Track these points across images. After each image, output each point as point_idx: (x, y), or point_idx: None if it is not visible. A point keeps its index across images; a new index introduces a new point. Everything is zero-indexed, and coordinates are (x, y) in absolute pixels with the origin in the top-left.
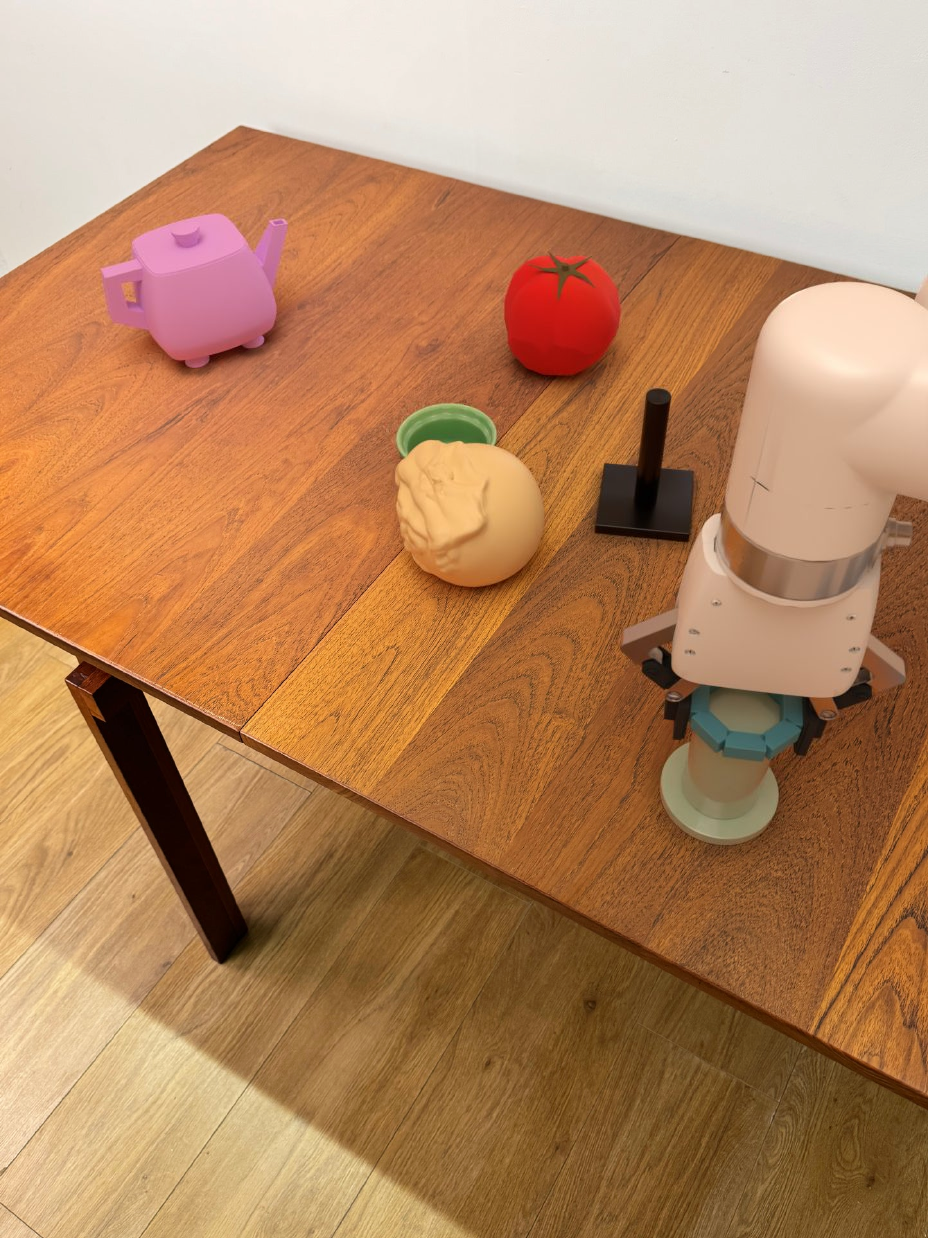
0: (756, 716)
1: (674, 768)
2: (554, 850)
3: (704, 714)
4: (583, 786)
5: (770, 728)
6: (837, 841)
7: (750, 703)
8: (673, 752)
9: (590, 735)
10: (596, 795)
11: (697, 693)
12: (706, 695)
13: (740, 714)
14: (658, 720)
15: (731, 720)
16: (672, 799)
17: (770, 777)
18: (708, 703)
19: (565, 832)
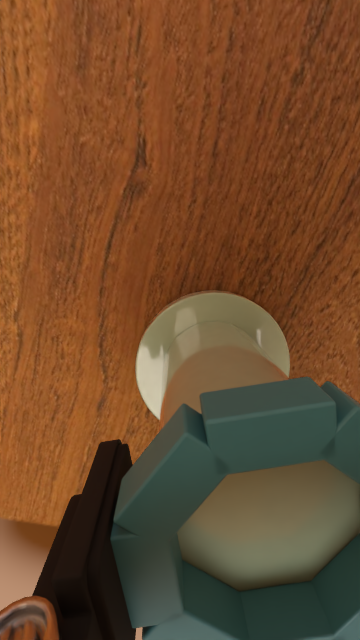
0: (301, 511)
1: (150, 362)
2: (45, 486)
3: (174, 629)
4: (46, 403)
5: (356, 612)
6: (357, 381)
7: (283, 482)
8: (143, 337)
9: (27, 328)
10: (66, 409)
11: (139, 577)
12: (167, 573)
13: (261, 514)
14: (110, 274)
15: (241, 538)
16: (158, 406)
17: (277, 337)
18: (178, 596)
19: (48, 463)
